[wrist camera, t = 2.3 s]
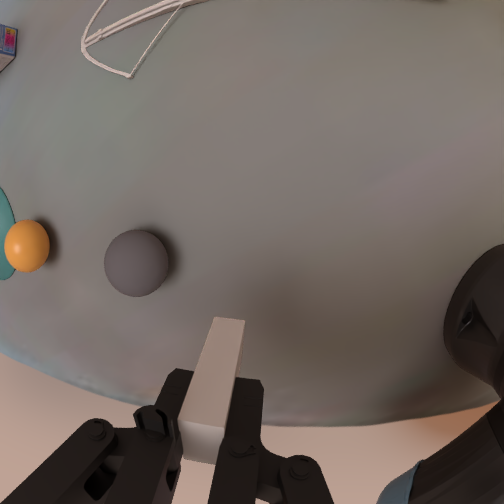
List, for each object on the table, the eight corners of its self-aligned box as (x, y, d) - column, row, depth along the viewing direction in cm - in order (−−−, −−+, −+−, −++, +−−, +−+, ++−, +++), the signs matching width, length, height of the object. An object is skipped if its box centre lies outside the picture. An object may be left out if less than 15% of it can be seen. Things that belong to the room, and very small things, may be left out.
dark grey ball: (189, 257, 25) (167, 283, 20) (150, 291, 27) (125, 320, 22) (148, 210, 24) (117, 225, 19) (113, 248, 26) (81, 269, 21)
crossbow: (93, 100, 23) (80, 98, 21) (89, 6, 19) (78, 1, 17) (252, 46, 20) (248, 37, 18) (229, -50, 16) (224, -60, 14)
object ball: (66, 241, 26) (32, 259, 21) (47, 270, 28) (16, 290, 23) (39, 204, 25) (4, 215, 20) (22, 235, 27) (-10, 250, 22)
